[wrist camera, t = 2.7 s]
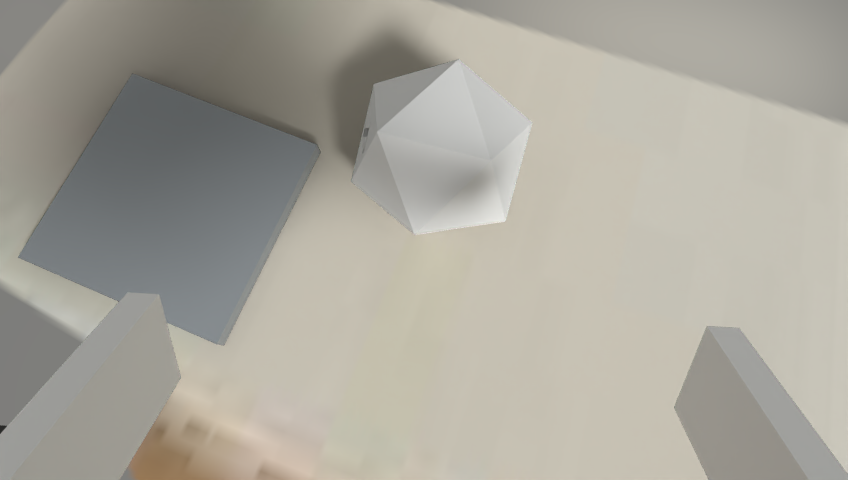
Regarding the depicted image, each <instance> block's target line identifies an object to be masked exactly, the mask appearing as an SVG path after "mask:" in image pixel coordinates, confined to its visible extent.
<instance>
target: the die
mask: <svg viewBox="0 0 848 480" xmlns="http://www.w3.org/2000/svg"><path fill="white" fill-rule="evenodd" d="M531 126H532V122H531V121H530V120H529V119H528V118H527V117H525V116H524V115H523V114H522V113H521V112H520V111H518V110H517V109H516V108H515V107H514V106H513V105H512V104H510V103H509V102H508V101H507V100H506V99H505V98H503V97H502V96H501V95H500V94H499V93H498V92H496V91H495V90H494V89H493V88H492V87H491V86H489V85H488V84H487V83H486V82H485V81H484V80H483V79H481V78H480V77H479V76H478V75H477V74H476V73H474V72H473V71H472V70H471V69H470V68H469V67H467V66H466V65H465V64H464V63H463V62H462V61H460V60H459V59H458V60H454V61H451V62H447V63H444V64H440V65H437V66H434V67H430V68H427V69H423V70H420V71H416V72H413V73H409V74H406V75H403V76H399V77H396V78H392V79H389V80H385V81H382V82H378V83H375V84H374V85H373V89H372V94H371V98H370V102H369V107H368V111H367V115H366V119H365V124H364V128H363V132H362V136H361V141H360V145H359V149H358V154H357V158H356V162H355V166H354V171H353V175H352V179H351V182H352V183H353V184H354V185H356V186H357V187H358V188H359V189H360V190H362V191H363V192H364V193H365V194H366V195H368V196H369V197H370V198H371V199H372V200H374V201H375V202H376V203H377V204H378V205H379V206H381V207H382V208H383V209H384V210H385V211H387V212H388V213H389V214H390V215H391V216H393V217H394V218H395V219H396V220H397V221H399V222H400V223H401V224H402V225H403V226H404V227H406V228H407V229H408V230H409V231H410V232H412V233H413V234H414V235H418V234H425V233H431V232H438V231H445V230H451V229H458V228H465V227H471V226H478V225H485V224H491V223H498V222H504V221H506V218H507V214H508V210H509V207H510V203H511V199H512V196H513V192H514V188H515V185H516V181H517V177H518V174H519V170H520V166H521V163H522V159H523V155H524V152H525V148H526V144H527V141H528V137H529V133H530V130H531Z"/></svg>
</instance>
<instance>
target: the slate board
mask: <svg viewBox="0 0 848 480" xmlns="http://www.w3.org/2000/svg"><path fill="white" fill-rule="evenodd" d="M319 154H320V150H319V148H318V146H317V145H316V144H314V143H311V142H309V141H306V140H304V139H301V138H298V137H296V136H293V135H291V134H288V133H285V132H283V131H280V130H278V129H275V128H273V127H270V126H267V125H265V124H262V123H260V122H257V121H254V120H252V119H249V118H247V117H244V116H242V115H239V114H236V113H234V112H231V111H229V110H226V109H223V108H221V107H218V106H216V105H213V104H211V103H208V102H205V101H203V100H200V99H198V98H195V97H192V96H190V95H187V94H185V93H182V92H179V91H177V90H174V89H172V88H169V87H167V86H164V85H161V84H159V83H156V82H154V81H151V80H148V79H146V78H143V77H141V76H138V75H136V74H133V73H132V75H131V77H130V78H129V80H128V81H127V83H126V85H125V86H124V88H123V89H122V91H121V93H120V94H119V96H118V97H117V99H116V101H115V102H114V104H113V105H112V107H111V109H110V110H109V112H108V113H107V115H106V117H105V118H104V120H103V122H102V123H101V125H100V126H99V128H98V130H97V131H96V133H95V134H94V136H93V138H92V139H91V141H90V142H89V144H88V146H87V147H86V149H85V150H84V152H83V154H82V155H81V157H80V158H79V160H78V162H77V163H76V165H75V166H74V168H73V170H72V171H71V173H70V174H69V176H68V178H67V179H66V181H65V182H64V184H63V186H62V187H61V189H60V191H59V192H58V194H57V195H56V197H55V199H54V200H53V202H52V203H51V205H50V207H49V208H48V210H47V211H46V213H45V215H44V216H43V218H42V219H41V221H40V223H39V224H38V226H37V227H36V229H35V231H34V232H33V234H32V235H31V237H30V239H29V240H28V242H27V243H26V245H25V247H24V248H23V250H22V252H21V253H20V255H19V256H18V258H21V259H23V260H25V261H27V262H30V263H32V264H34V265H37V266H39V267H41V268H43V269H46V270H48V271H50V272H53V273H55V274H57V275H59V276H62V277H64V278H66V279H69V280H71V281H73V282H75V283H78V284H80V285H82V286H85V287H87V288H89V289H92V290H94V291H96V292H98V293H101V294H103V295H105V296H108V297H110V298H112V299H114V300H117V301H120V300H121V299H122V298H123V297H124V296H125V295H126V294H127V292H130V293H147V294H159V296H160V300H161V303H162V307H163V311H164V315H165V319H166V322H167V323H169V324H172V325H174V326H176V327H179V328H181V329H183V330H185V331H188V332H190V333H192V334H195V335H197V336H199V337H201V338H204V339H206V340H208V341H211V342H213V343H215V344H219V345H224V344H225V342H226V340H227V338H228V336H229V334H230V332H231V330H232V328H233V326H234V324H235V322H236V320H237V318H238V316H239V314H240V312H241V310H242V308H243V306H244V304H245V302H246V300H247V298H248V296H249V294H250V292H251V290H252V288H253V286H254V284H255V282H256V280H257V278H258V276H259V274H260V272H261V270H262V268H263V266H264V264H265V262H266V260H267V258H268V256H269V254H270V252H271V250H272V248H273V246H274V244H275V242H276V240H277V238H278V236H279V234H280V232H281V230H282V228H283V226H284V224H285V222H286V220H287V218H288V216H289V214H290V212H291V210H292V208H293V206H294V204H295V202H296V200H297V198H298V196H299V194H300V192H301V190H302V188H303V186H304V184H305V182H306V180H307V178H308V176H309V174H310V172H311V170H312V168H313V166H314V164H315V162H316V160H317V158H318V156H319Z"/></svg>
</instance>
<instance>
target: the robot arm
mask: <svg viewBox="0 0 848 480" xmlns="http://www.w3.org/2000/svg"><path fill="white" fill-rule="evenodd" d="M180 379H181V375H180V371H179V368H178V364H177V360H176V356H175V352H174V349H173V345H172V341H171V337H170V334H169V330H168V326H167V322H166V319H165V315H164V311H163V307H162V303H161V300H160V296H159V294H147V293H130V292H127V294H126V295H125V296H124V297H123V298H122V299H121V300H120V301H119V302H118V304H117V305H116V306H115V307H114V308H113V309H112V310H111V311H110V312H109V314H108V315H107V316H106V317H105V318H104V319H103V320H102V321H101V322H100V324H99V325H98V326H97V327H96V328H95V329H94V330H93V331H92V332H91V334H90V335H89V336H88V337H87V338H86V339H85V340H84V341H83V342H82V344H81V345H80V346H79V347H78V348H77V349H76V350H75V351H74V353H73V354H72V355H71V356H70V357H69V358H68V359H67V360H66V361H65V363H64V364H63V365H62V366H61V367H60V368H59V369H58V370H57V371H56V373H55V374H54V375H53V376H52V377H51V378H50V379H49V380H48V381H47V383H46V384H45V385H44V386H43V387H42V388H41V389H40V390H39V392H38V393H37V394H36V395H35V396H34V397H33V398H32V399H31V400H30V401H29V403H28V404H27V405H26V406H25V407H24V408H23V409H22V410H21V412H20V413H19V414H18V415H17V416H16V417H15V418H14V419H13V420H12V421H11V423H10V424H9V425H8V426H0V480H120V478H121V476H122V475H123V473H124V471H125V470H126V468H127V466H128V465H129V463H130V461H131V460H132V458H133V456H134V455H135V453H136V452H137V450H138V448H139V447H140V445H141V443H142V442H143V440H144V438H145V437H146V435H147V433H148V432H149V430H150V428H151V427H152V425H153V423H154V422H155V420H156V418H157V417H158V415H159V413H160V412H161V410H162V408H163V407H164V405H165V404H166V402H167V400H168V399H169V397H170V395H171V394H172V392H173V390H174V389H175V387H176V385H177V384H178V382H179V380H180ZM674 408H675V411H676V413H677V415H678V417H679V419H680V421H681V423H682V425H683V427H684V429H685V431H686V434H687V436H688V438H689V440H690V442H691V444H692V446H693V448H694V450H695V452H696V454H697V457H698V459H699V461H700V463H701V465H702V467H703V469H704V471H705V473H706V475H707V477H708V480H848V474H847V472H846V471H845V470H844V468H843V467H842V466H841V464H840V463H839V462H838V460H837V459H836V458H835V456H834V455H833V454H832V452H831V451H830V450H829V448H828V447H827V445H826V444H825V443H824V441H823V440H822V439H821V437H820V436H819V435H818V433H817V432H816V431H815V429H814V428H813V427H812V425H811V424H810V423H809V421H808V420H807V419H806V417H805V416H804V414H803V413H802V412H801V410H800V409H799V408H798V406H797V405H796V404H795V402H794V401H793V400H792V398H791V397H790V396H789V394H788V393H787V392H786V390H785V389H784V388H783V386H782V385H781V383H780V382H779V381H778V379H777V378H776V377H775V375H774V374H773V373H772V371H771V370H770V369H769V367H768V366H767V365H766V363H765V362H764V361H763V359H762V358H761V357H760V355H759V354H758V352H757V351H756V350H755V348H754V347H753V346H752V344H751V343H750V342H749V340H748V339H747V338H746V336H745V335H744V334H743V332H742V331H741V330H740V328H732V327H715V326H707V327H706V329H705V332H704V334H703V337H702V339H701V342H700V344H699V347H698V349H697V352H696V354H695V357H694V359H693V361H692V364H691V366H690V369H689V371H688V374H687V376H686V379H685V381H684V384H683V386H682V389H681V391H680V394H679V396H678V399H677V401H676V403H675V406H674Z"/></svg>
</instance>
